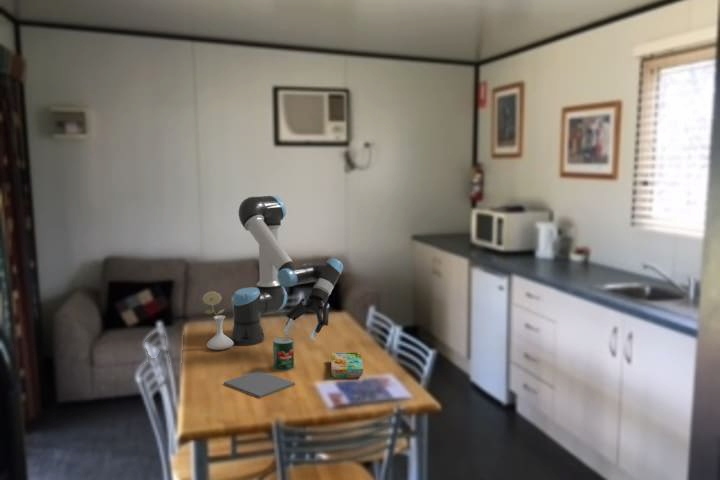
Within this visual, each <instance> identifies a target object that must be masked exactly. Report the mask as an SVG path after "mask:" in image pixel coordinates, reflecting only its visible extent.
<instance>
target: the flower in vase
mask: <svg viewBox="0 0 720 480" xmlns="http://www.w3.org/2000/svg"><path fill="white" fill-rule="evenodd" d="M222 299H223V298H222V296H221V294H220V292H216V291H213V290H211V291H207V293H205V294H203V296H202V298H201V300H202V302H203V303H204V304H205V305H209V306H211V308H212V309H209V308H208V309H206V310H204V312H203V314H207V315H212V314H213V313H214V314H215V316H213V319H214V321H215V323H216V334H214V336H213V337H212V338H210V339H209V340H208V342H207V343H206V347H207V348H208V349H211V350H216V351H218V350H219V351H221V350H226V349H229V348H231V347H233V346H234V345H235V344H234V343H233V341H232V340H231V339H230V337H228V336H227V335H225V333H224V332H223V322H224V319H225V318H226V316H225V315H220V314H223V313H224V311H225V308H223V309H221V310H219V311H218V312H217V313H216V312H215V311H216V310H214V306H216V305H218V304H221V303H220V302H221V300H222Z"/></svg>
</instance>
